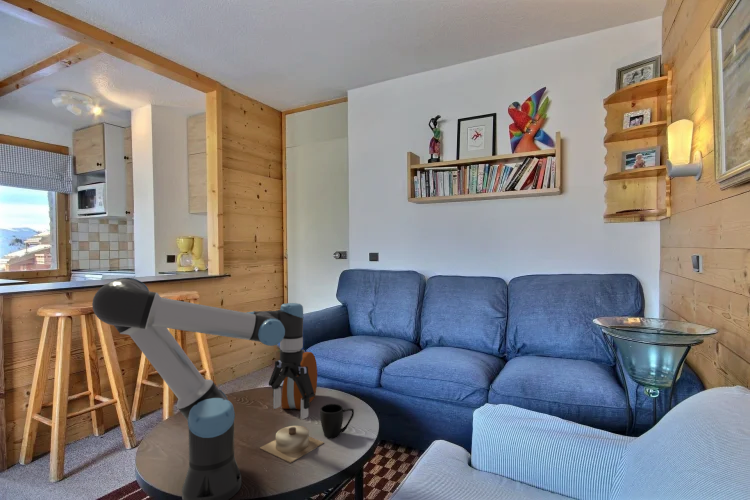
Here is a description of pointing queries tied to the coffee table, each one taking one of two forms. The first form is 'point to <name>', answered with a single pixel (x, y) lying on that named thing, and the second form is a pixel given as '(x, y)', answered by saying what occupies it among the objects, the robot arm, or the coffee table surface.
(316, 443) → the mat
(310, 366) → the alarm clock
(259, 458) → the coffee table surface
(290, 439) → the lid
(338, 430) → the mug
